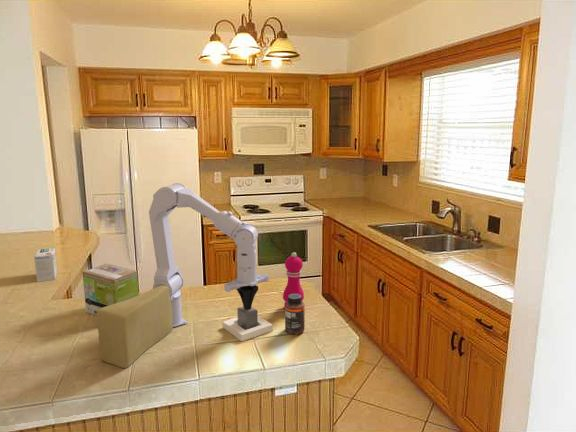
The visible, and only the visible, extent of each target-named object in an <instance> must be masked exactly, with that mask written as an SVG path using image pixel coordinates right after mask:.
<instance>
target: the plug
mask: <svg viewBox="0 0 576 432" xmlns="http://www.w3.org/2000/svg"><path fill="white" fill-rule="evenodd" d="M236 310H237V311H236V312H237V317H238V325H239V326H240V327H242V328H243V329H244V330H247V329H250V328H253V327H256V326H258V316H259V315H258V310H257V309H256V308H254V307H253V306H251V309H249V310H246V309H245V308H244V306H243V305H242V306H239V307H237V308H236Z"/></svg>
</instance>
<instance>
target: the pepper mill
mask: <svg viewBox="0 0 576 432" xmlns="http://www.w3.org/2000/svg"><path fill="white" fill-rule="evenodd" d="M284 266H285V269H286V276H287V283H286V286H285V288H284V290H283V293H282V299H283V301H284V303H283V304H284V307H283V308H284V309H285V304H286V302H287V301H288V296H289V295H290V294H299V295H301V301H302V302H303V301H304V300H305V294H304V290H303V288H302V285H301V282H300V281H301V280H300V277H301V276H302V268H303V267H304V263H303V260H302V258H300V257H299V256H298V255H297V252H295V251H294V252H292V253H291V255H290V256H288V258H286V260H285V261H284Z"/></svg>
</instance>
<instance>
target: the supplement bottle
mask: <svg viewBox="0 0 576 432" xmlns="http://www.w3.org/2000/svg"><path fill="white" fill-rule="evenodd" d="M305 308H306V307H305V303H304V302H303V301H301V295H299V294H290V295H289V296H288V301H287V302H286V304H285V308H284V313H285V314H284V318H285V319H284V325H285V326H284V328H285V329H284V330H285V332H286V333H288V334H290V335H298V334H302V333H303V332H304V331H305V324H306V323H305V321H306V320H305V313H306V312H305Z"/></svg>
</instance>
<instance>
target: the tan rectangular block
mask: <svg viewBox="0 0 576 432" xmlns="http://www.w3.org/2000/svg"><path fill="white" fill-rule="evenodd" d="M96 320H97V331H98V340H99V347H100V348H99V350H100V356H101V357H100V358H101V360H102V361H103V362H105V363H108V364H109V365H110V364H111V365H113V366H116V367H119V368H122V369H126V368H128V367H130V366H131V365H132V364H133V363H135V361H136V360H137V359H138V358H139V357H141V356H142V355H143V354H144V353H145V352H146V351H147V350H148V349H150V348H152V346H154V345H156V344H157V343H158V342H161V340H163V339H164V338H165V337H167V336H168V335H169V334H170V333H172V331H173V328H172V310H171V302H170V296H169V289H168V287H167V286H158V287H156V288H154V289H153V288H152V289H150V290H148V291H145V292H143V293H141V294H139V295H138V296H135V297H133V298H130V299H128V300H125V301H122V302H119V303H116V304H112V305H109V306H106V307H103V308H100V309H98V310H97V315H96Z"/></svg>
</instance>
